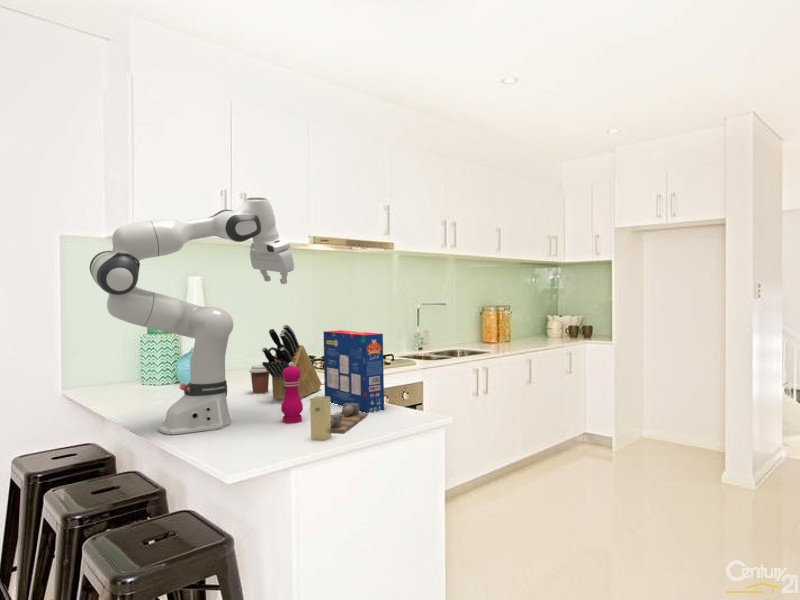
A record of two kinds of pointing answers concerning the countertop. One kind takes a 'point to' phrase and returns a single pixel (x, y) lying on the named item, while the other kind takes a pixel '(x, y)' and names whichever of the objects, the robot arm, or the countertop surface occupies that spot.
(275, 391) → the knife block
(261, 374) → the coffee cup
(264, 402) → the countertop surface
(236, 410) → the countertop surface
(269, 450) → the countertop surface
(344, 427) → the shaft bench
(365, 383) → the pasta box
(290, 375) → the pepper mill
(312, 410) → the block
